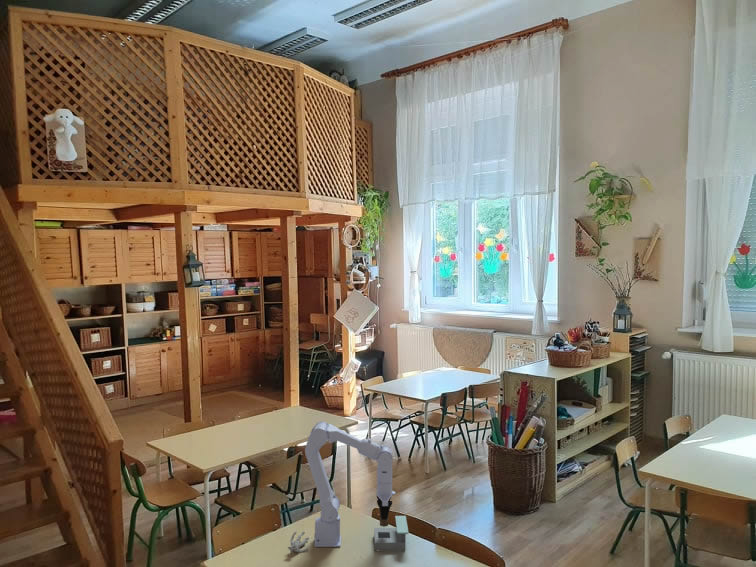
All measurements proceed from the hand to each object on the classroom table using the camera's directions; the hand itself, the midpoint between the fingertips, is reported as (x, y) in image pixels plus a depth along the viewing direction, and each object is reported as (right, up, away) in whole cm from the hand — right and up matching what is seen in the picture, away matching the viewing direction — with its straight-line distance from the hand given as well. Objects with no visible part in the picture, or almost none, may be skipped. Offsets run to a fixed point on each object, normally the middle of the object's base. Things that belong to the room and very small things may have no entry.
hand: (384, 516), depth 203 cm
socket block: (+2, -10, 0) cm, 10 cm away
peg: (0, -3, 0) cm, 3 cm away
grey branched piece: (-31, -10, -4) cm, 33 cm away
